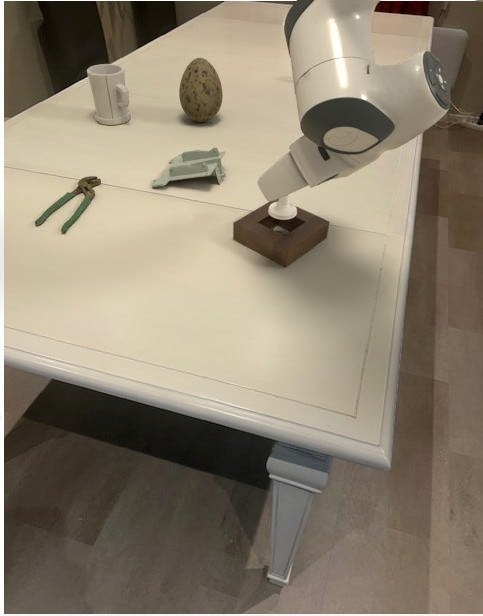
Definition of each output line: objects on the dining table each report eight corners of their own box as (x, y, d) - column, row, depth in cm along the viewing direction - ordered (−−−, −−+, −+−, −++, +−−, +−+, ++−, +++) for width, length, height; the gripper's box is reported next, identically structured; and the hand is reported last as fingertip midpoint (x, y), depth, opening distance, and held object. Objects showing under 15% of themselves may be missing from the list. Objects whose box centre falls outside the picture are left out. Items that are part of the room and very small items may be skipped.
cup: (140, 113, 127) (135, 65, 119) (131, 127, 121) (124, 77, 112) (102, 111, 128) (93, 62, 120) (90, 125, 121) (81, 74, 113)
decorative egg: (204, 132, 119) (202, 67, 109) (172, 121, 124) (167, 58, 114) (231, 119, 126) (231, 57, 115) (199, 109, 130) (197, 48, 120)
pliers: (65, 235, 86) (63, 229, 85) (32, 229, 87) (30, 223, 86) (113, 183, 100) (112, 177, 99) (84, 178, 101) (83, 172, 100)
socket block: (326, 238, 87) (329, 221, 84) (286, 267, 80) (287, 250, 78) (275, 213, 93) (276, 197, 90) (233, 239, 86) (233, 222, 84)
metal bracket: (230, 138, 103) (207, 170, 92) (236, 164, 106) (216, 197, 96) (171, 148, 108) (143, 178, 97) (179, 172, 112) (154, 204, 101)
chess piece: (284, 223, 80) (289, 167, 73) (262, 212, 83) (265, 157, 76) (302, 212, 83) (309, 157, 76) (280, 201, 85) (285, 147, 78)
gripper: (369, 104, 73) (310, 146, 85) (287, 145, 62) (231, 187, 73) (389, 141, 74) (327, 178, 86) (311, 188, 63) (251, 223, 74)
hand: (282, 182), depth 79 cm, fingers closed on chess piece
